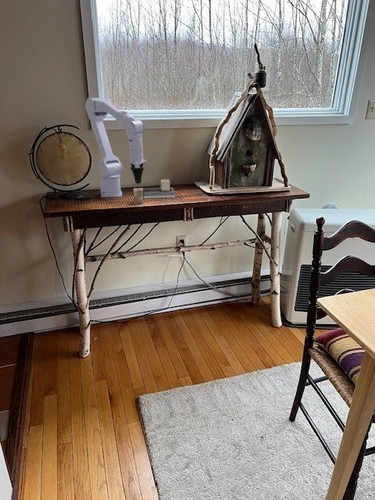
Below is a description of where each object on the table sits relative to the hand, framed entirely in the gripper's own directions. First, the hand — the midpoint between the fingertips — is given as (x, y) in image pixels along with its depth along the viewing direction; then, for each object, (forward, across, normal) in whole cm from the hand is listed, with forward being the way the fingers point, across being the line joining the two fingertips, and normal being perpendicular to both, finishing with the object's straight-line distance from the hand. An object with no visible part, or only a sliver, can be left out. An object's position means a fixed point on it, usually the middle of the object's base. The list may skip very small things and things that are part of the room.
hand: (138, 181), depth 160 cm
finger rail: (+10, +10, -8) cm, 16 cm away
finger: (+10, 0, 0) cm, 10 cm away
